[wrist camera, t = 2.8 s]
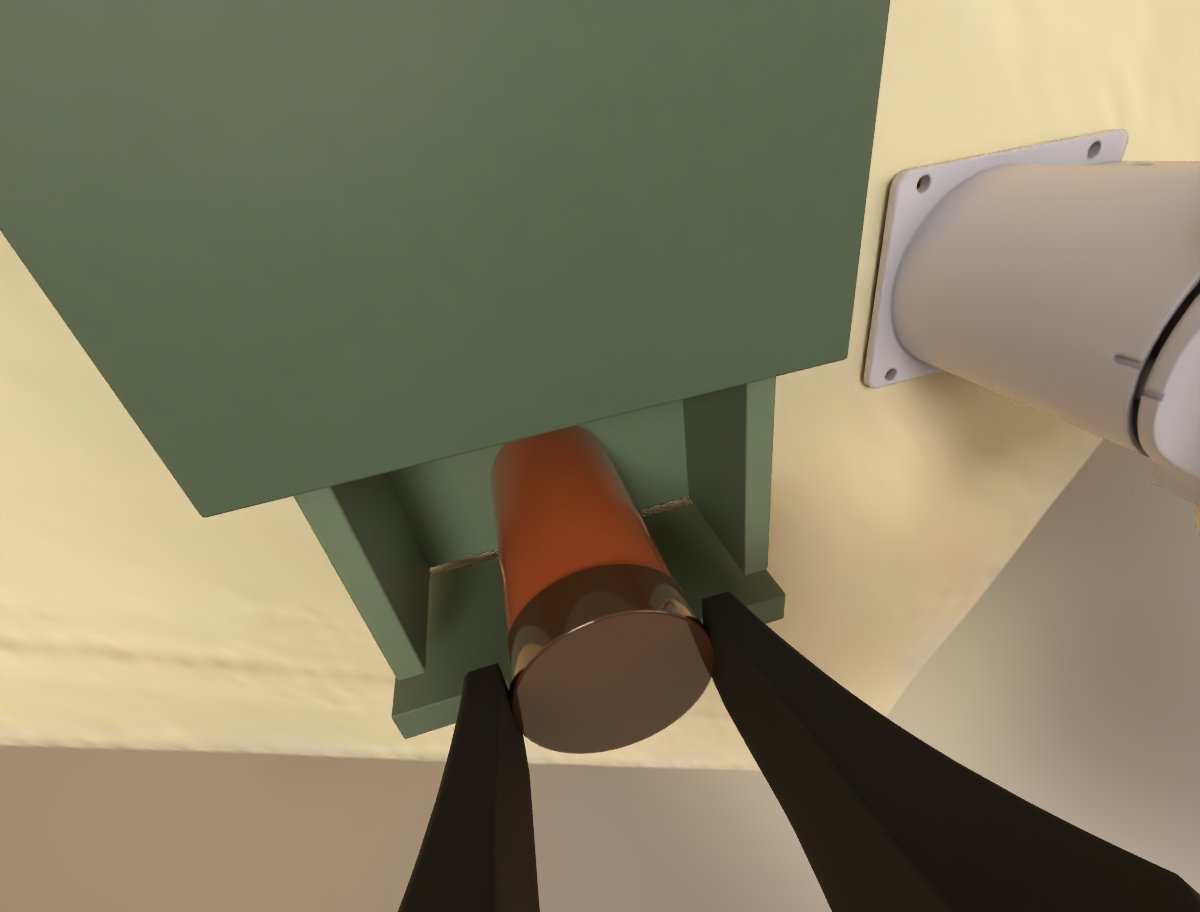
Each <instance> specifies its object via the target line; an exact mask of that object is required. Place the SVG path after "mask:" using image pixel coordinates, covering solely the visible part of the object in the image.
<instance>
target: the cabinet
mask: <svg viewBox="0 0 1200 912" xmlns="http://www.w3.org/2000/svg"><path fill="white" fill-rule="evenodd" d="M889 5H890V0H0V230H1V232H2V233H3V235H4V236H5V238H6V239H7V240H8V242H9V243H10V245H11V246H12V248H13V249H14V250H15V252H16V253H17V255H18V256H19V258H20V259H21V260H22V262H23V263H24V265H25V266H26V267H27V269H28V270H29V272H30V273H31V275H32V276H33V277H34V279H35V280H36V282H37V283H38V285H39V286H40V287H41V289H42V290H43V292H44V293H45V295H46V296H47V297H48V299H49V300H50V302H51V303H52V304H53V306H54V307H55V309H56V310H57V312H58V313H59V314H60V316H61V317H62V319H63V320H64V322H65V323H66V324H67V326H68V327H69V329H70V330H71V332H72V333H73V334H74V336H75V337H76V339H77V340H78V341H79V343H80V344H81V346H82V347H83V349H84V350H85V351H86V353H87V354H88V356H89V357H90V359H91V360H92V361H93V363H94V364H95V366H96V367H97V369H98V370H99V371H100V373H101V374H102V376H103V377H104V378H105V380H106V381H107V383H108V384H109V386H110V387H111V388H112V390H113V391H114V393H115V394H116V396H117V397H118V398H119V400H120V401H121V403H122V404H123V406H124V407H125V408H126V410H127V411H128V413H129V414H130V415H131V417H132V418H133V420H134V421H135V423H136V424H137V425H138V427H139V428H140V430H141V431H142V433H143V434H144V435H145V437H146V438H147V440H148V441H149V443H150V444H151V445H152V447H153V448H154V450H155V451H156V453H157V454H158V455H159V457H160V458H161V460H162V461H163V462H164V464H165V465H166V467H167V468H168V470H169V471H170V472H171V474H172V475H173V477H174V478H175V480H176V481H177V482H178V484H179V485H180V487H181V488H182V490H183V491H184V492H185V494H186V495H187V497H188V498H189V499H190V501H191V502H192V504H193V505H194V507H195V508H196V509H197V511H198V512H199V514H200V515H201V516H202V517H210V516H214V515H218V514H222V513H226V512H230V511H234V510H238V509H242V508H246V507H250V506H254V505H258V504H262V503H266V502H270V501H274V500H278V499H282V498H286V497H290V496H294V495H298V494H302V493H307V492H311V491H315V490H319V489H323V488H327V487H331V486H335V485H339V484H343V483H347V482H351V481H355V480H359V479H363V478H367V477H371V476H375V475H379V474H383V473H387V472H391V471H395V470H399V469H404V468H408V467H412V466H416V465H420V464H424V463H428V462H432V461H436V460H440V459H444V458H448V457H452V456H456V455H460V454H464V453H468V452H472V451H476V450H480V449H484V448H488V447H492V446H496V445H501V444H505V443H509V442H513V441H517V440H521V439H525V438H529V437H533V436H537V435H541V434H545V433H549V432H553V431H557V430H561V429H565V428H569V427H573V426H577V425H581V424H585V423H589V422H593V421H598V420H602V419H606V418H610V417H614V416H618V415H622V414H626V413H630V412H634V411H638V410H642V409H646V408H650V407H654V406H658V405H662V404H666V403H670V402H674V401H678V400H682V399H686V398H690V397H695V396H699V395H703V394H707V393H711V392H715V391H719V390H723V389H727V388H731V387H735V386H739V385H743V384H747V383H751V382H755V381H759V380H763V379H767V378H771V377H775V376H779V375H783V374H787V373H792V372H796V371H800V370H804V369H808V368H812V367H816V366H820V365H824V364H828V363H832V362H836V361H840V360H844V359H846V358H847V355H848V347H849V338H850V330H851V322H852V313H853V305H854V297H855V288H856V280H857V272H858V263H859V255H860V247H861V238H862V230H863V222H864V213H865V205H866V197H867V188H868V180H869V172H870V163H871V155H872V147H873V138H874V130H875V122H876V113H877V105H878V97H879V88H880V80H881V72H882V63H883V55H884V47H885V38H886V30H887V22H888V13H889Z"/></svg>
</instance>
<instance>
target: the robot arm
mask: <svg viewBox="0 0 1200 912" xmlns="http://www.w3.org/2000/svg"><path fill="white" fill-rule="evenodd" d="M1127 142H1128V133H1127V131H1126V130H1124V129H1115V130H1107V131H1102V132H1097V133H1092V134H1087V135H1081V136H1076V137H1071V138H1066V139H1061V140H1056V141H1050V142H1045V143H1040V144H1035V145H1030V146H1024V147H1019V148H1014V149H1009V150H1004V151H999V152H993V153H988V154H983V155H978V156H973V157H967V158H962V159H957V160H952V161H947V162H942V163H936V164H931V165H926V166H921V167H916V168H910V169H905V170H903V171H901V172H900V173H898V174H897V175H896V176H895V178H894V180H893V181H892V184H891V187H890V193H889V201H888V208H887V215H886V222H885V229H884V236H883V243H882V250H881V257H880V264H879V272H878V279H877V286H876V293H875V300H874V307H873V314H872V321H871V328H870V335H869V343H868V350H867V357H866V364H865V371H864V382H865V384H866V385H868V386H870V387H872V388H880V387H884V386H888V385H892V384H896V383H899V382H903V381H907V380H911V379H915V378H919V377H923V376H927V375H930V374H934V373H938V372H942V371H947V372H950V373H952V374H954V375H957V376H959V377H961V378H964V379H966V380H968V381H971V382H973V383H975V384H978V385H980V386H982V387H985V388H987V389H990V390H992V391H994V392H997V393H999V394H1001V395H1004V396H1006V397H1008V398H1011V399H1013V400H1015V401H1018V402H1020V403H1022V404H1025V405H1027V406H1030V407H1032V408H1034V409H1037V410H1039V411H1041V412H1044V413H1046V414H1048V415H1051V416H1053V417H1055V418H1058V419H1060V420H1062V421H1065V422H1067V423H1069V424H1072V425H1074V426H1077V427H1079V428H1081V429H1084V430H1086V431H1088V432H1091V433H1093V434H1095V435H1098V436H1100V437H1102V438H1105V439H1107V440H1109V441H1112V442H1114V443H1117V444H1119V445H1121V446H1124V447H1126V448H1128V449H1131V450H1133V451H1135V452H1138V453H1140V454H1143V455H1145V456H1148V457H1150V458H1151V459H1152V461H1153V464H1154V472H1153V476H1152V479H1151V483H1152V484H1154V485H1156V486H1158V487H1160V488H1163V489H1165V490H1167V491H1169V492H1172V493H1173V494H1176V495H1178V496H1180V497H1182V498H1184V499H1187V500H1189V501H1191V502H1193V503H1195V504H1196V506H1195V509H1194V514H1195V525H1196V528H1197V530H1198V532H1199V534H1200V161H1121V160H1122V157H1123V154H1124V151H1125V149H1126V146H1127ZM920 178H921V185H920V187H919V188H918V189H917V183H918V180H919V179H920ZM889 370H890V371H889ZM888 371H889V373H888V374H887V375H886V373H887V372H888ZM702 618H703V626H704V627H705V629H706V631H707V633H708V635H709V637H710V639H711V641H712V645H713V656H714V670H713V674H712V678H713V681H714V683H715V685H716V688H717V690H718V692H719V694H720V697H721V699H722V701H723V703H724V705H725V707H726V709H727V711H728V713H729V715H730V716H731V718H732V720H733V722H734V723H735V725H736V727H737V729H738V731H739V732H740V734H741V736H742V738H743V739H744V741H745V743H746V745H747V747H748V748H749V750H750V752H751V754H752V755H753V757H754V759H755V761H756V762H757V764H758V766H759V768H760V769H761V771H762V773H763V775H764V776H765V778H766V780H767V782H768V783H769V785H770V787H771V789H772V790H773V792H774V794H775V796H776V797H777V799H778V801H779V803H780V805H781V806H782V808H783V810H784V812H785V814H786V815H787V817H788V819H789V821H790V823H791V825H792V827H793V829H794V831H795V833H796V835H797V837H798V839H799V841H800V843H801V845H802V848H803V850H804V852H805V854H806V856H807V858H808V860H809V863H810V865H811V867H812V869H813V871H814V873H815V875H816V877H817V879H818V882H819V884H820V886H821V888H822V890H823V893H824V895H825V897H826V899H827V902H828V904H829V906H830V908H831V910H832V912H1200V894H1199V893H1197V892H1196V891H1195V890H1194V889H1193V888H1192V887H1191V886H1190V885H1188V884H1187V883H1186V882H1185V881H1184V880H1183V879H1182V878H1181V877H1179V876H1178V875H1177V874H1175V873H1173V872H1171V871H1169V870H1167V869H1164V868H1162V867H1160V866H1158V865H1156V864H1153V863H1151V862H1149V861H1147V860H1145V859H1142V858H1140V857H1138V856H1136V855H1134V854H1132V853H1130V852H1128V851H1126V850H1123V849H1121V848H1119V847H1117V846H1115V845H1113V844H1111V843H1109V842H1107V841H1104V840H1103V839H1101V838H1098V837H1096V836H1094V835H1092V834H1090V833H1088V832H1086V831H1084V830H1082V829H1080V828H1078V827H1076V826H1074V825H1072V824H1070V823H1068V822H1066V821H1064V820H1062V819H1060V818H1058V817H1056V816H1054V815H1053V814H1050V813H1048V812H1047V811H1045V810H1043V809H1041V808H1039V807H1036V806H1035V805H1033V804H1031V803H1029V802H1027V801H1025V800H1024V799H1022V798H1020V797H1018V796H1016V795H1015V794H1013V793H1011V792H1009V791H1008V790H1006V789H1004V788H1002V787H1000V786H999V785H997V784H995V783H993V782H991V781H990V780H988V779H986V778H984V777H982V776H981V775H979V774H977V773H975V772H973V771H972V770H970V769H968V768H966V767H964V766H963V765H961V764H959V763H957V762H956V761H954V760H952V759H951V758H949V757H948V756H946V755H944V754H943V753H941V752H939V751H937V750H936V749H934V748H933V747H931V746H930V745H928V744H926V743H924V742H923V741H921V740H919V739H918V738H917V737H915V736H914V735H912V734H910V733H909V732H907V731H906V730H904V729H903V728H901V727H900V726H898V725H897V724H895V723H894V722H892V721H890V720H889V719H888V718H886V717H885V716H883V715H882V714H880V713H879V712H877V711H876V710H874V709H873V708H872V707H870V706H869V705H867V704H866V703H864V702H863V701H862V700H860V699H859V698H858V697H856V696H855V695H853V694H852V693H851V692H849V691H848V690H847V689H845V688H844V687H843V686H841V685H840V684H838V683H837V682H836V681H835V680H833V679H832V678H831V677H829V676H828V675H827V674H825V673H824V672H823V671H821V670H820V669H819V668H818V667H816V666H815V665H814V664H813V663H811V662H810V661H809V660H808V659H806V658H805V657H804V656H803V655H801V654H800V653H799V652H798V651H796V650H795V649H794V648H793V647H792V646H790V645H789V644H788V643H787V642H786V641H784V640H783V639H782V638H781V637H780V636H779V635H777V634H776V633H775V632H774V631H773V630H772V629H770V628H769V627H768V626H767V625H766V624H765V623H764V622H762V621H761V620H760V619H759V618H758V617H757V616H756V615H755V614H754V613H752V612H751V611H750V610H749V609H748V608H747V607H746V606H745V605H744V604H743V603H742V602H740V601H739V600H738V599H737V598H736V597H735V596H734V595H733V594H732V593H730V592H728V591H727V592H724V593H721V594H718V595H715V596H711V597H708V598H705V599H702ZM398 912H540V909H539V898H538V883H537V870H536V855H535V842H534V828H533V815H532V800H531V787H530V775H529V768H528V762H527V756H526V749H525V744H524V738H523V733H522V732H521V731H520V730H519V729H518V726H517V724H516V721H515V719H514V716H513V713H512V710H511V704H510V695H509V690H508V687H507V684H506V682H505V679H504V677H503V674H502V672H501V669H500V666H499V664H498V663H496V664H492V665H489V666H486V667H483V668H480V669H476V670H473V671H470V672H468V673H467V674H466V676H465V677H464V683H463V689H462V695H461V701H460V706H459V711H458V716H457V721H456V725H455V730H454V734H453V738H452V742H451V747H450V751H449V754H448V758H447V762H446V766H445V769H444V773H443V777H442V780H441V784H440V788H439V792H438V795H437V798H436V802H435V805H434V808H433V811H432V814H431V817H430V821H429V824H428V827H427V830H426V833H425V836H424V839H423V843H422V846H421V849H420V852H419V855H418V858H417V861H416V864H415V867H414V869H413V872H412V875H411V878H410V881H409V883H408V886H407V889H406V891H405V894H404V897H403V900H402V902H401V905H400V907H399V910H398Z"/></svg>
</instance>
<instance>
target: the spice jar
mask: <svg viewBox="0 0 1200 912" xmlns="http://www.w3.org/2000/svg"><path fill="white" fill-rule="evenodd" d="M490 487H491V496H492V505H493V513H494V522H495V531H496V540H497V548H498V557H499V566H500V574H501V583H502V592H503V600H504V609H505V618H506V627H507V635H508V637H507V640H506V647H505V658H506V668H507V677H508V687H509V695H510V704H511V710H512V713H513V716H514V719H515V721H516V724H517V726H518V729H519V730H520V731H521V732H522V733H523V735H524V736H525V737H527V738H528V739H529V740H530V741H532V742H534V743H535V744H537V745H539V746H541V747H544V748H547V749H549V750H553V751H557V752H564V753H575V754H585V753H597V752H604V751H609V750H614V749H618V748H621V747H625V746H628V745H631V744H634V743H636V742H639V741H642V740H644V739H646V738H648V737H650V736H652V735H654V734H656V733H658V732H660V731H661V730H663V729H665V728H666V727H668V726H669V725H671V724H672V723H674V722H675V721H676V720H678V719H679V718H680V717H681V716H683V715H684V714H685V713H686V712H687V711H688V710H689V709H690V708H691V707H692V706H693V705H694V704H695V703H696V702H697V701H698V699H699V698H700V697H701V695H702V694H703V692H704V691H705V689H706V687H707V686H708V684H709V682H710V679H711V677H712V674H713V670H714V656H713V645H712V641H711V639H710V637H709V635H708V633H707V631H706V629H705V627H704V626H703V624H702V622H701V620H700V618H699V616H698V614H697V612H696V611H695V609H694V607H693V605H692V603H691V601H690V599H689V598H688V596H687V594H686V592H685V591H684V589H683V588H682V587H681V586H680V585H679V583H678V582H677V581H675V580H674V578H673V577H672V575H671V573H670V571H669V569H668V567H667V565H666V563H665V561H664V559H663V557H662V556H661V554H660V552H659V550H658V548H657V546H656V544H655V542H654V540H653V538H652V537H651V535H650V533H649V531H648V529H647V527H646V525H645V523H644V521H643V519H642V517H641V516H640V514H639V512H638V510H637V508H636V506H635V504H634V502H633V500H632V498H631V497H630V495H629V493H628V491H627V489H626V487H625V485H624V483H623V481H622V479H621V477H620V476H619V474H618V472H617V470H616V468H615V466H614V464H613V462H612V460H611V458H610V457H609V455H608V453H607V451H606V449H605V447H604V446H603V444H602V443H601V442H600V440H599V439H598V438H597V437H596V436H594V435H593V434H592V433H590V432H589V431H587V430H586V429H583V428H581V427H579V426H573V427H569V428H565V429H561V430H557V431H553V432H549V433H545V434H541V435H537V436H533V437H529V438H525V439H521V440H517V441H513V442H509V443H506V444H505V445H504V446H503V447H502V449H501V450H500V451H499V453H498V454H497V456H496V458H495V460H494V462H493V465H492V468H491V473H490Z"/></svg>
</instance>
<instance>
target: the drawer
mask: <svg viewBox="0 0 1200 912" xmlns="http://www.w3.org/2000/svg"><path fill="white" fill-rule="evenodd" d="M775 381H776V376H775V377H771V378H767V379H763V380H759V381H755V382H751V383H747V384H743V385H739V386H735V387H731V388H727V389H723V390H719V391H715V392H711V393H707V394H703V395H699V396H695V397H690V398H686V399H682V400H678V401H674V402H670V403H666V404H662V405H658V406H654V407H650V408H646V409H642V410H638V411H634V412H630V413H626V414H622V415H618V416H614V417H610V418H606V419H602V420H598V421H593V422H589V423H585V424H581V425H577V426H579V427H581V428H583V429H586V430H587V431H589V432H590V433H592V434H593V435H594V436H596V437H597V438H598V439H599V440H600V442H601V443H602V444H603V446H604V447H605V449H606V451H607V453H608V455H609V457H610V458H611V460H612V462H613V464H614V466H615V468H616V470H617V472H618V474H619V476H620V477H621V479H622V481H623V483H624V485H625V487H626V489H627V491H628V493H629V495H630V497H631V498H632V500H633V502H634V504H635V506H636V508H637V510H641V509H645V508H648V507H652V506H655V505H659V504H663V503H666V502H670V501H674V500H677V499H681V498H684V497H688V496H689V498H690V499H691V500H692V502H693V503H692V504H688V505H685V506H681V507H678V508H674V509H670V510H667V511H663V512H660V513H656V514H653V515H649V516H645V517H642V519H643V521H644V523H645V525H646V527H647V529H648V531H649V533H650V535H651V537H652V538H653V540H654V542H655V544H656V546H657V548H658V550H659V552H660V554H661V556H662V557H663V559H664V561H665V563H666V565H667V567H668V569H669V571H670V573H671V575H672V577H673V578H674V580H675V581H677V582H678V583H679V585H680V586H681V587H682V588H683V589H684V591H685V592H686V594H687V596H688V598H689V599H690V601H691V603H692V605H693V607H694V609H695V611H696V612H697V614H698V616H699V618H700V620H701V622H702V624H703V618H702V599H705V598H708V597H711V596H715V595H718V594H721V593H724V592H727V591H728V592H730V593H732V594H733V595H734V596H735V597H736V598H737V599H738V600H739V601H740V602H742V603H743V604H744V605H745V606H746V607H747V608H748V609H749V610H750V611H751V612H752V613H754V614H755V615H756V616H757V617H758V618H759V619H760V620H761V621H762V622H764V623H765V624H766V623H769V622H772V621H776V620H779V619H782V618H783V617H784V604H785V593H784V592H783V591H782V589H781V588H780V587H779V585H778V584H777V583H776V581H775V580H774V579H773V578H772V576H771V575H770V574H769V572H768V571H767V570H766V569H767V566H768V542H769V519H770V496H771V473H772V450H773V427H774V404H775ZM505 444H506V443H505ZM505 444H501V445H496V446H492V447H488V448H484V449H480V450H476V451H472V452H468V453H464V454H460V455H456V456H452V457H448V458H444V459H440V460H436V461H432V462H428V463H424V464H420V465H416V466H412V467H408V468H404V469H399V470H395V471H391V472H387V473H383V474H379V475H375V476H371V477H367V478H363V479H359V480H355V481H351V482H347V483H343V484H339V485H335V486H331V487H327V488H323V489H319V490H315V491H311V492H307V493H302V494H298V495H294V498H295V500H296V501H297V503H298V505H299V507H300V508H301V510H302V512H303V514H304V515H305V517H306V519H307V521H308V522H309V524H310V526H311V528H312V530H313V531H314V533H315V535H316V537H317V538H318V540H319V542H320V544H321V545H322V547H323V549H324V551H325V552H326V554H327V556H328V558H329V560H330V561H331V563H332V565H333V567H334V568H335V570H336V572H337V574H338V575H339V577H340V579H341V581H342V583H343V584H344V586H345V588H346V590H347V591H348V593H349V595H350V597H351V598H352V600H353V602H354V604H355V605H356V607H357V609H358V611H359V613H360V614H361V616H362V618H363V620H364V621H365V623H366V625H367V627H368V628H369V630H370V632H371V634H372V635H373V637H374V639H375V641H376V643H377V644H378V646H379V648H380V650H381V651H382V653H383V655H384V657H385V658H386V660H387V662H388V664H389V665H390V667H391V669H392V671H393V673H394V674H395V676H396V679H395V689H394V699H393V708H392V719H393V721H394V722H395V724H396V725H397V727H398V729H399V730H400V732H401V734H402V735H403V737H404V738H405V739H407V738H410V737H414V736H417V735H420V734H423V733H426V732H429V731H432V730H435V729H438V728H442V727H445V726H448V725H451V724H454V723H456V721H457V716H458V711H459V706H460V701H461V695H462V689H463V683H464V677H465V676H466V674H467V673H468V672H470V671H473V670H476V669H480V668H483V667H486V666H489V665H492V664H496V663H498V664H499V666H500V669H501V672H502V674H503V677H504V679H505V682H506V684H507V687H508V677H507V668H506V658H505V647H506V640H507V637H508V635H507V627H506V618H505V609H504V600H503V592H502V583H501V574H500V566H499V557H498V558H495V559H491V560H487V561H484V562H480V563H477V564H473V565H469V566H466V567H462V568H459V569H455V570H451V571H448V572H444V573H441V574H437V575H433V576H430V568H431V567H435V566H438V565H442V564H445V563H449V562H453V561H456V560H460V559H463V558H467V557H471V556H474V555H478V554H482V553H485V552H489V551H492V550H496V549H498V548H497V540H496V531H495V522H494V513H493V505H492V496H491V487H490V473H491V468H492V465H493V462H494V460H495V458H496V456H497V454H498V453H499V451H500V450H501V449H502V447H503V446H504V445H505ZM508 690H509V687H508Z"/></svg>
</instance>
